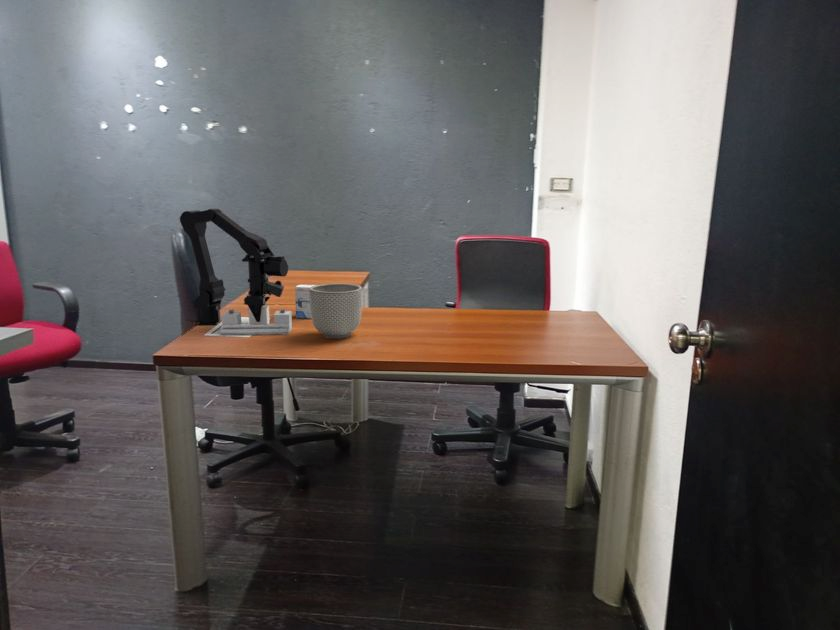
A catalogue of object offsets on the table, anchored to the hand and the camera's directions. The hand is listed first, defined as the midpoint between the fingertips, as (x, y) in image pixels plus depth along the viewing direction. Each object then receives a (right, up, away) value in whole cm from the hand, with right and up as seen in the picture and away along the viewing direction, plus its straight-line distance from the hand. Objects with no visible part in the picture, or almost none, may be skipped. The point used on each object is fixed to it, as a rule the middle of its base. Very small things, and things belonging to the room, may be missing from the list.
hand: (259, 319), depth 213 cm
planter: (+28, -5, -10) cm, 30 cm away
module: (0, -1, 0) cm, 1 cm away
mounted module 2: (+9, -3, -3) cm, 10 cm away
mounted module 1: (-8, -4, -4) cm, 10 cm away
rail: (+1, -4, -8) cm, 9 cm away
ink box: (+14, +1, +16) cm, 21 cm away
